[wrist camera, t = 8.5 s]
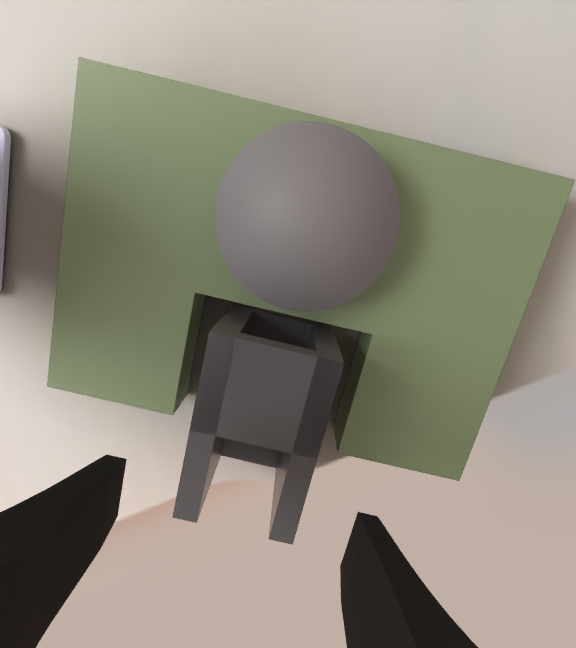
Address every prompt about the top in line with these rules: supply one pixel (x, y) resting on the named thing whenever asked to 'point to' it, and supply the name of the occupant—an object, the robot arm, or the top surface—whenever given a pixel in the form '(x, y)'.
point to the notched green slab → (293, 255)
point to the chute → (262, 407)
